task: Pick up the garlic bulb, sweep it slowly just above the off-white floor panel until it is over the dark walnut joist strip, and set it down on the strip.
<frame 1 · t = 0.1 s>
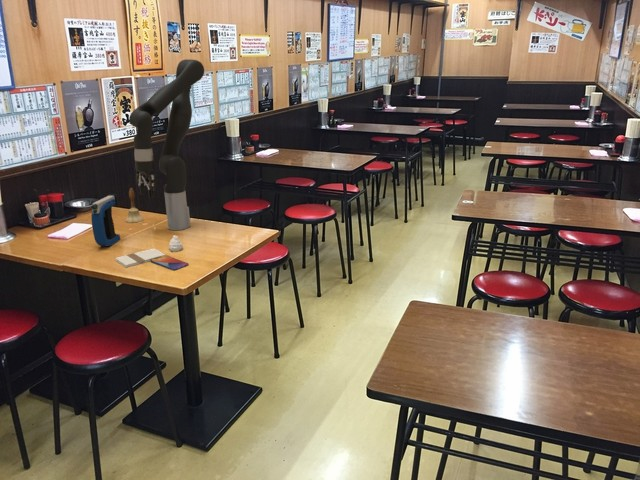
hand: (147, 196, 224), 17 cm above the table, tool pointing down, fingers open, 8 cm apart
smartphone: (169, 264, 197), on the table
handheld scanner: (109, 244, 218), on the table
garlic bulb: (176, 250, 211), on the table
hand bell: (134, 220, 250), on the table
floor panel: (140, 258, 201), on the table
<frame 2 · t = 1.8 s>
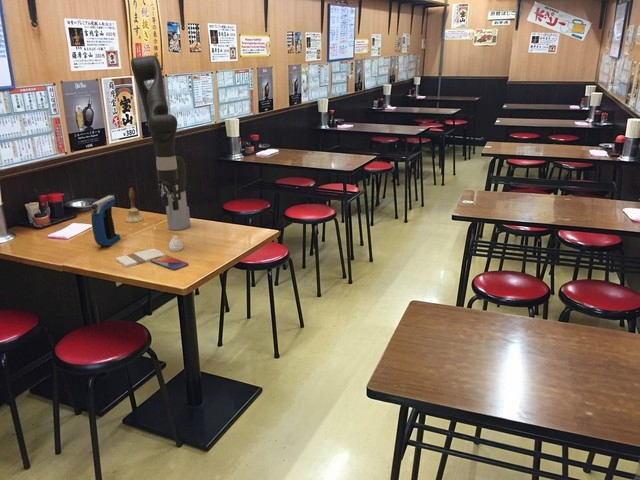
hand: (170, 208, 205), 18 cm above the table, tool pointing down, fingers open, 8 cm apart
nothing on the table moved.
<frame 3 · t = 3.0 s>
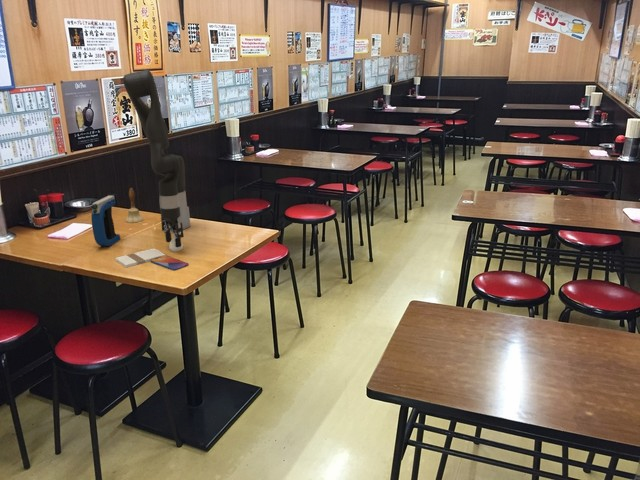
hand: (173, 244, 210), 2 cm above the table, tool pointing down, fingers open, 8 cm apart
nothing on the table moved.
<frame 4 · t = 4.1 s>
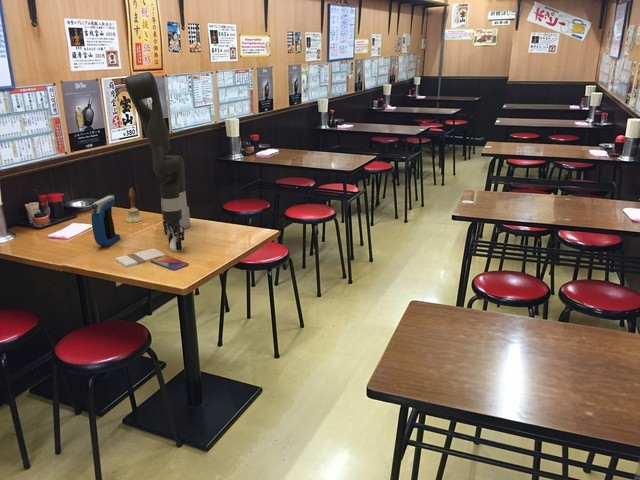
hand: (175, 247, 211), 1 cm above the table, tool pointing down, fingers closed on garlic bulb, 5 cm apart
garlic bulb: (176, 249, 211), on the table, touching gripper
everything else where it was.
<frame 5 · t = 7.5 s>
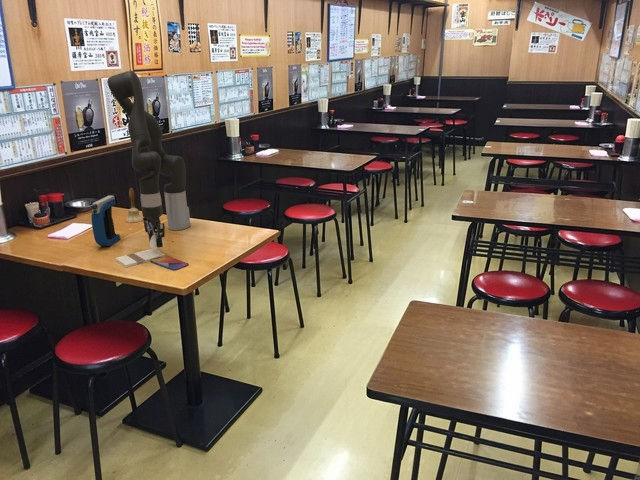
hand: (156, 245, 205), 4 cm above the table, tool pointing down, fingers closed on garlic bulb, 5 cm apart
garlic bulb: (157, 247, 205), point 3 cm above the table, touching gripper
everything else where it was.
when the fingers open (3 cm above the table, at t = 10.8 s): garlic bulb drops 1 cm, resting on floor panel.
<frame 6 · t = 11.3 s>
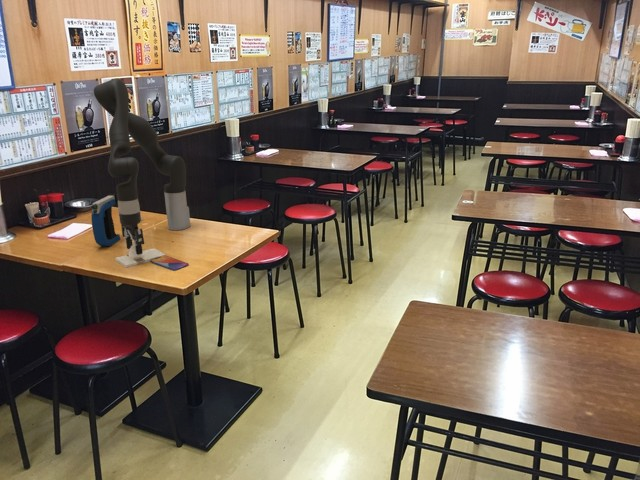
hand: (134, 251, 199), 4 cm above the table, tool pointing down, fingers open, 8 cm apart
garlic bulb: (136, 257, 200), point 1 cm above the table, touching floor panel
everything else where it was.
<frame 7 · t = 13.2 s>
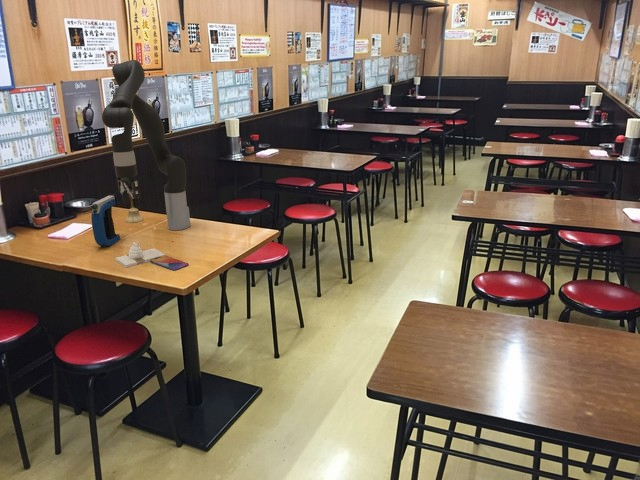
hand: (131, 205, 196), 21 cm above the table, tool pointing down, fingers open, 8 cm apart
nothing on the table moved.
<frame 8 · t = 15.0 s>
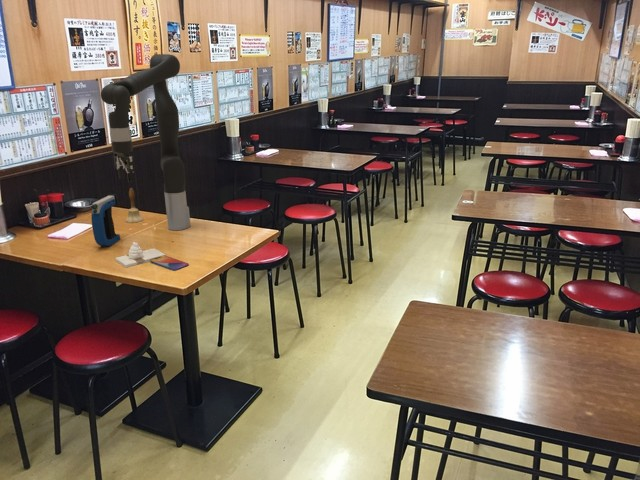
hand: (126, 180, 204), 28 cm above the table, tool pointing down, fingers open, 8 cm apart
nothing on the table moved.
at the end: garlic bulb 0.4 cm from the target spot, point 0.8 cm above the table; garlic bulb moved 16.7 cm from its start; the gripper is holding nothing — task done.
